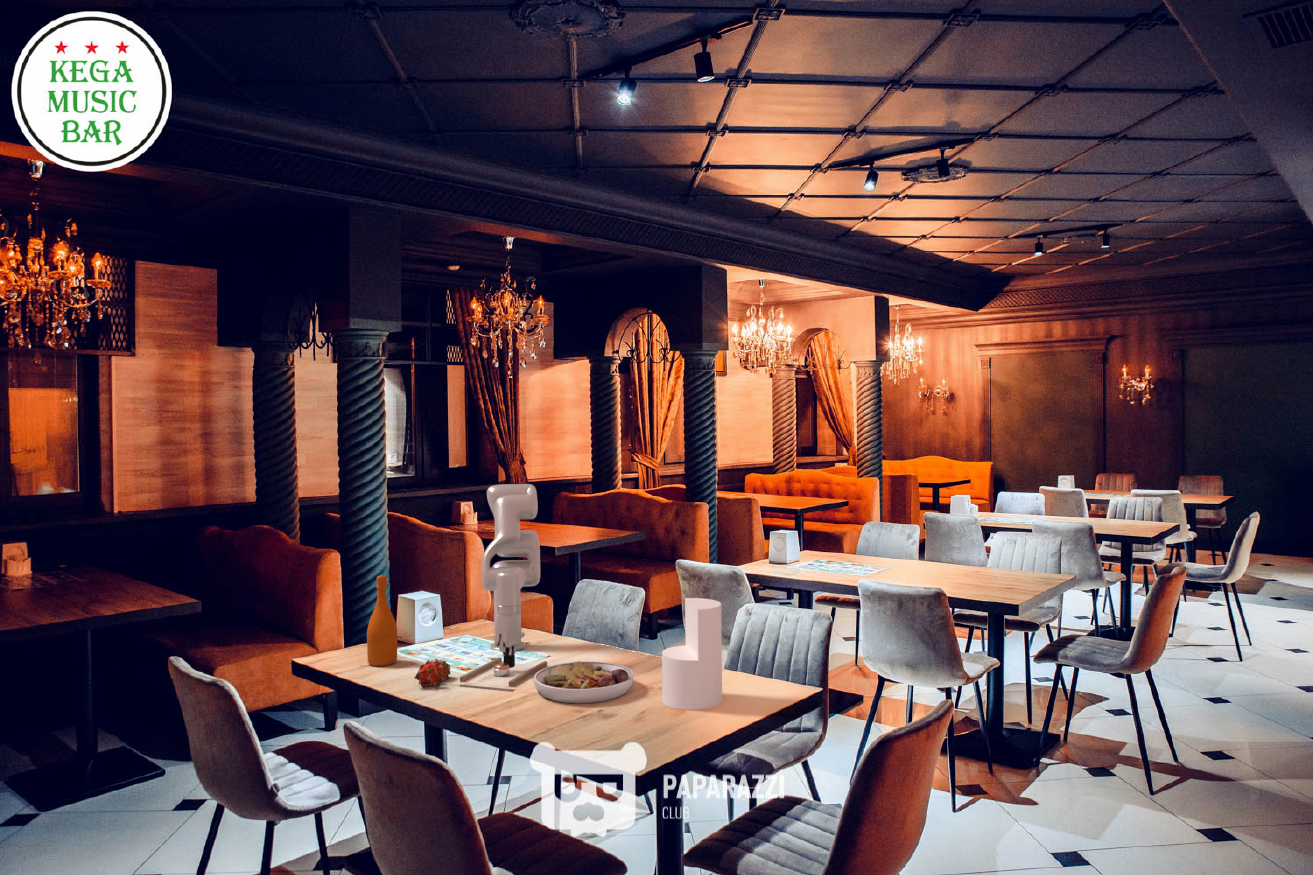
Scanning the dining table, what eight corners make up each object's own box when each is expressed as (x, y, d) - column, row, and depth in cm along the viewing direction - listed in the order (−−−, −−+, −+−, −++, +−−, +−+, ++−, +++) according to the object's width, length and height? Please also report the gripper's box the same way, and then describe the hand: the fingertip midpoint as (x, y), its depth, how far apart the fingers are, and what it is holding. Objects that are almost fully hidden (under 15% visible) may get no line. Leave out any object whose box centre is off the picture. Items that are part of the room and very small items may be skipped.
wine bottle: (403, 661, 292) (402, 574, 292) (380, 668, 284) (379, 578, 284) (384, 658, 297) (383, 572, 297) (361, 664, 289) (360, 576, 289)
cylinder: (714, 689, 257) (713, 596, 257) (728, 707, 240) (727, 608, 240) (657, 693, 254) (656, 599, 254) (668, 711, 237) (667, 611, 237)
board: (498, 666, 285) (498, 657, 285) (547, 670, 280) (547, 661, 279) (459, 686, 263) (459, 676, 262) (512, 691, 257) (512, 681, 257)
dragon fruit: (454, 686, 268) (418, 699, 261) (443, 666, 273) (407, 678, 266) (458, 668, 264) (421, 681, 256) (446, 648, 268) (410, 660, 261)
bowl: (515, 700, 249) (515, 673, 249) (561, 673, 277) (561, 649, 277) (610, 711, 239) (609, 683, 239) (648, 681, 267) (647, 656, 267)
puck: (500, 671, 273) (500, 662, 273) (513, 673, 271) (513, 663, 271) (490, 675, 269) (490, 666, 269) (503, 677, 267) (503, 667, 267)
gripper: (509, 604, 282) (509, 660, 282) (486, 613, 268) (487, 672, 268) (529, 605, 279) (530, 661, 280) (507, 615, 265) (508, 674, 265)
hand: (509, 666), depth 274 cm, fingers closed
